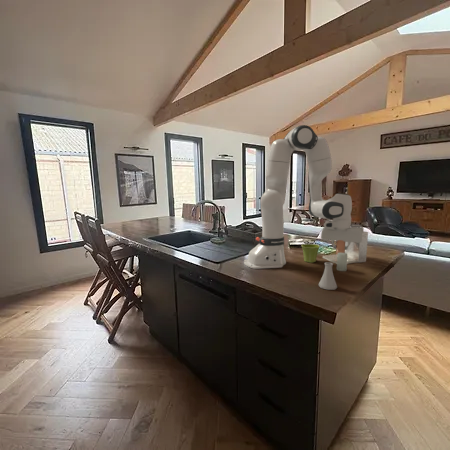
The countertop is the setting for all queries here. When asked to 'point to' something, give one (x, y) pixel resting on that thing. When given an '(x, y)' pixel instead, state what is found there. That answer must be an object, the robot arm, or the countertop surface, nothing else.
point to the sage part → (341, 261)
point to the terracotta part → (340, 246)
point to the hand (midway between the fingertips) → (340, 249)
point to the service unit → (353, 251)
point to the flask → (328, 278)
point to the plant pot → (310, 252)
